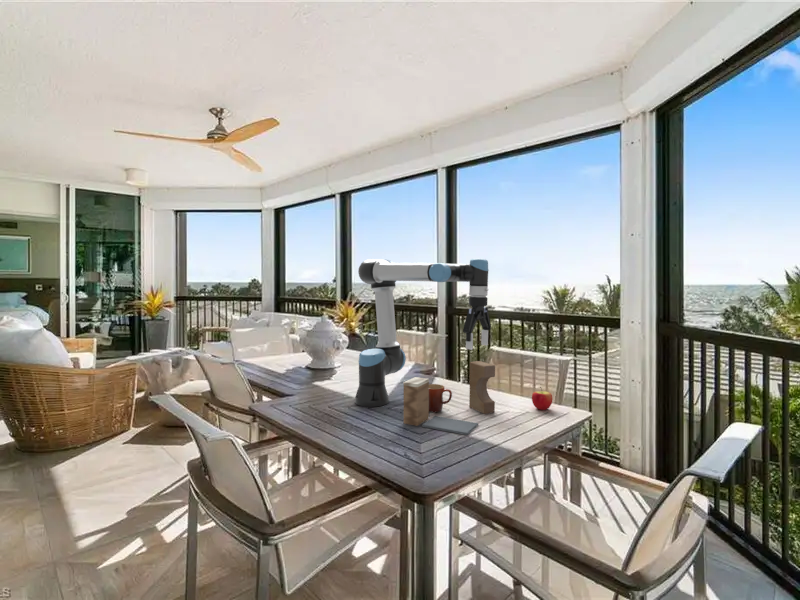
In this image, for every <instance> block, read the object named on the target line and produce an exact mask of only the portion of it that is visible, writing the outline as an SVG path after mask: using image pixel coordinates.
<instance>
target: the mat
mask: <svg viewBox="0 0 800 600" xmlns="http://www.w3.org/2000/svg"><path fill="white" fill-rule="evenodd" d="M421 426H422V427H423V428H427V429H431V430H432V429H433V430H439V431H443V432H449V433H453V434H459V435H466V436H468V435H469V434H471V432H473V431H474V429H476V428H477V427H478V426H479V423H478V422H474V421H467V420H461V419H456V418H450V417H444V416H439V415H434V416H433V417H431V418H429V419H427V420H426V421H424V422H423V424H422V423H421Z"/></svg>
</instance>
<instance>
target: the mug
mask: <svg viewBox="0 0 800 600" xmlns="http://www.w3.org/2000/svg"><path fill="white" fill-rule="evenodd" d="M445 392H447V393H449V397H448V399H447V400H444V397H443V396H444V393H445ZM452 397H453V392H452V390H451V389H450V388H445V385H443V384H438V383H429V413H440V412H441V411H442V410H443V407H444V405H445V404H448V403H450V402H451V400H452Z"/></svg>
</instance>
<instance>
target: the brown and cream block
mask: <svg viewBox="0 0 800 600" xmlns="http://www.w3.org/2000/svg"><path fill="white" fill-rule="evenodd" d="M402 383H403V424H405V425H409V426H410V425H411V426H415V427H418V426H419V425H422V423H423V424H424V423H425V422H427V421H428V420H430V414H429V413H430V412H429V384H430V378H425V377H418V376H415V377H412V378H410V379H408V380H406V381H403V382H402Z"/></svg>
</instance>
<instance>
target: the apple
mask: <svg viewBox="0 0 800 600" xmlns="http://www.w3.org/2000/svg"><path fill="white" fill-rule="evenodd" d="M540 390H541V391H537V390H536V391H533V393H532V395H531V402H532V404H533V406H534V407H535V408H536V409H537V410H540V411H546V410H549V408H550V407H551V406H552V403H553V395H552V393H551V392H549V391H543V389H542V387H541V386H540Z"/></svg>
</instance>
